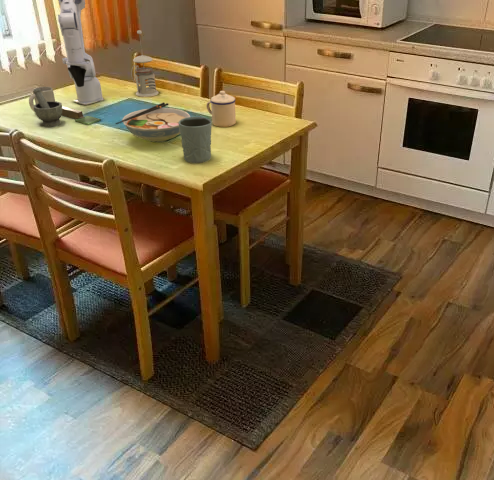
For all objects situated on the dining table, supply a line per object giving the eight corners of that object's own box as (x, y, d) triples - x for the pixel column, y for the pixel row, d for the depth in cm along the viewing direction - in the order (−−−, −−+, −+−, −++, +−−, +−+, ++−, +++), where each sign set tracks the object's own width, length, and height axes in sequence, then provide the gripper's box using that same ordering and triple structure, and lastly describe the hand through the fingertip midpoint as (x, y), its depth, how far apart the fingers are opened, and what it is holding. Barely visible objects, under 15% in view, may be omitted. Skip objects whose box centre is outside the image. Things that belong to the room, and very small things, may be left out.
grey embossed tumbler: (176, 161, 185) (172, 124, 178) (191, 150, 193) (188, 114, 186) (204, 166, 182) (201, 128, 175) (219, 154, 190) (217, 118, 183)
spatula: (55, 116, 221) (54, 108, 219) (68, 112, 225) (66, 104, 223) (88, 125, 213) (86, 117, 211) (100, 120, 217) (99, 113, 215)
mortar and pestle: (70, 123, 214) (64, 90, 208) (48, 130, 208) (40, 96, 201) (52, 117, 220) (45, 84, 213) (30, 123, 214) (22, 90, 207)
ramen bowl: (158, 157, 188) (155, 132, 183) (108, 143, 198) (104, 119, 193) (207, 134, 205) (205, 111, 201) (158, 122, 215) (156, 100, 211)
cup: (61, 112, 225) (56, 88, 220) (37, 118, 218) (31, 94, 213) (51, 108, 229) (45, 85, 224) (27, 114, 222) (21, 90, 217)
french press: (163, 92, 248) (156, 29, 234) (144, 99, 240) (136, 34, 226) (146, 88, 252) (139, 27, 238) (127, 95, 244) (117, 31, 230)
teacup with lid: (241, 121, 217) (240, 90, 210) (226, 128, 210) (225, 96, 204) (215, 116, 222) (213, 85, 215) (200, 123, 215) (198, 91, 209)
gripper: (52, 47, 213) (60, 85, 221) (76, 53, 206) (83, 92, 213) (68, 44, 218) (75, 81, 225) (92, 49, 210) (99, 87, 218)
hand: (80, 86), depth 220 cm, fingers closed
